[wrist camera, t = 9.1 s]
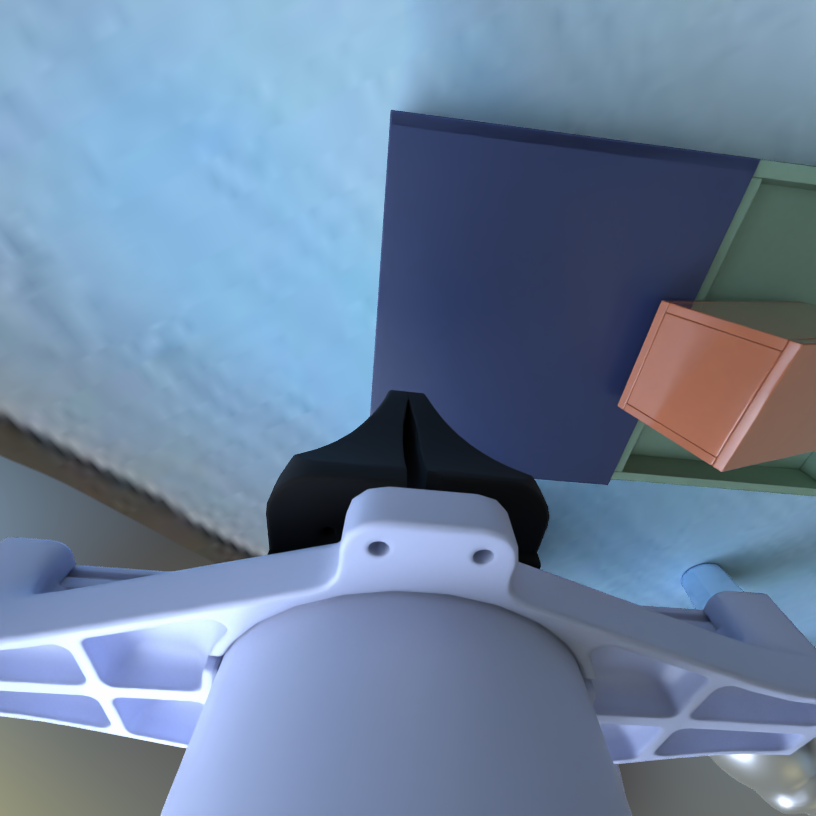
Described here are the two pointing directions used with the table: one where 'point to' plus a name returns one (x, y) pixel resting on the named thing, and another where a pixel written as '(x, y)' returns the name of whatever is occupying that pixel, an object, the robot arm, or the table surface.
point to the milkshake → (706, 583)
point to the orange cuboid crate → (729, 379)
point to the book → (537, 279)
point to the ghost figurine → (778, 777)
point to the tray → (747, 281)
